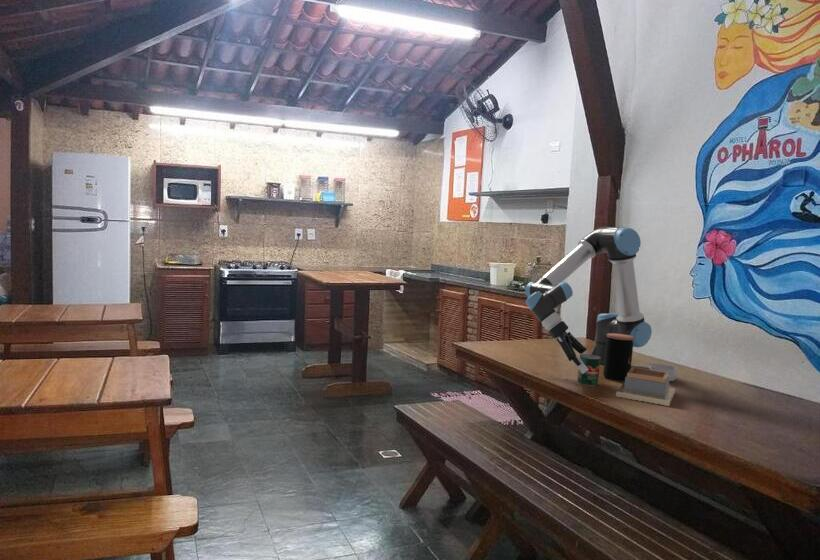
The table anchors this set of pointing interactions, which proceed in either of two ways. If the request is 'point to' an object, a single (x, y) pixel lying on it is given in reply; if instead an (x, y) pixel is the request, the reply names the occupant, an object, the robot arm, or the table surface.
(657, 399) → the grey rectangular box
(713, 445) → the table surface
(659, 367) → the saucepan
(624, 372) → the coffee jar
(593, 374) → the canned tomato
